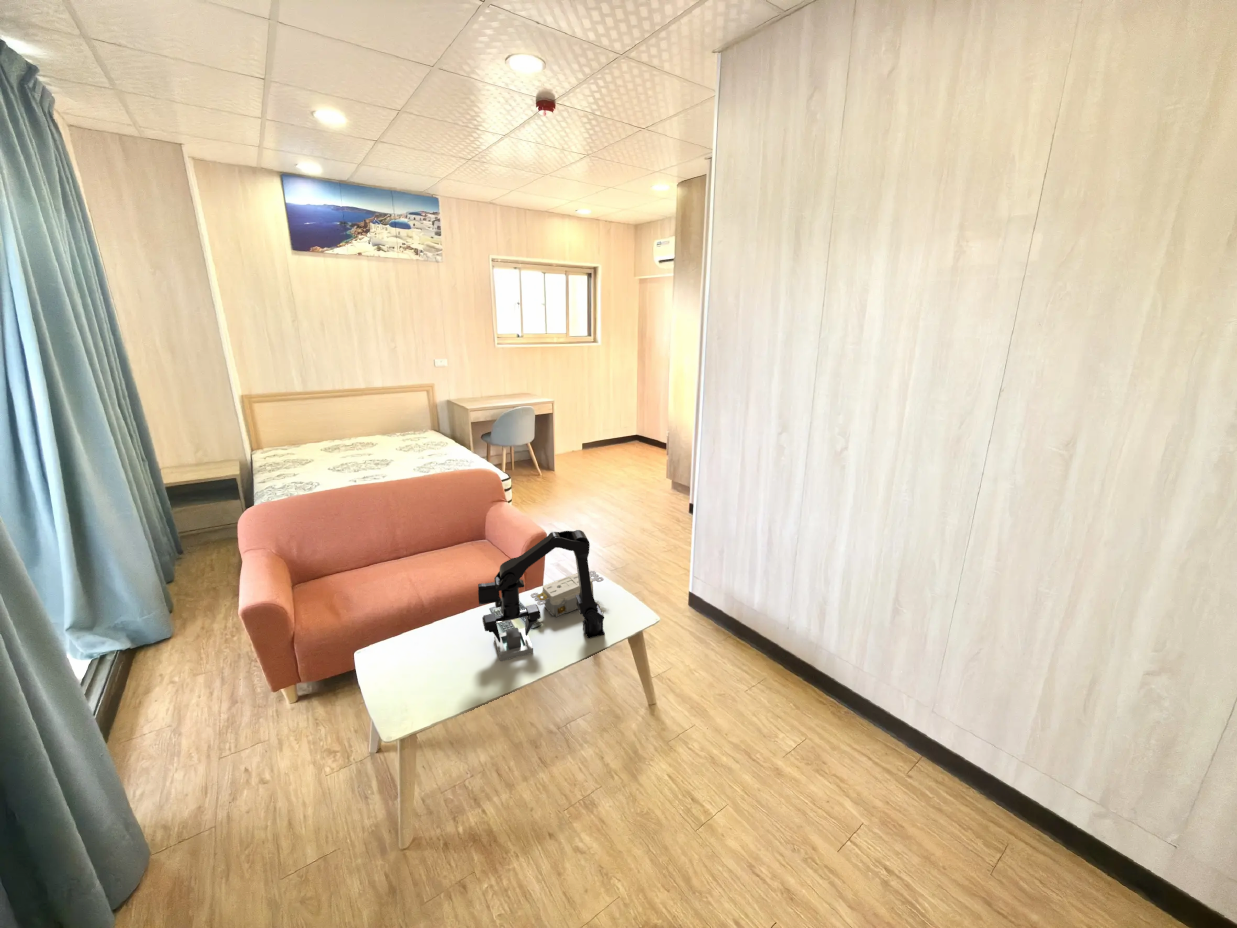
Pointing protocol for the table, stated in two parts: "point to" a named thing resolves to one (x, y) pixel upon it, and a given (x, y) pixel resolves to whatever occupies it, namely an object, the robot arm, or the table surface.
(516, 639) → the block
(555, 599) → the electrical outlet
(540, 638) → the table surface
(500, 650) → the socket
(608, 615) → the table surface
